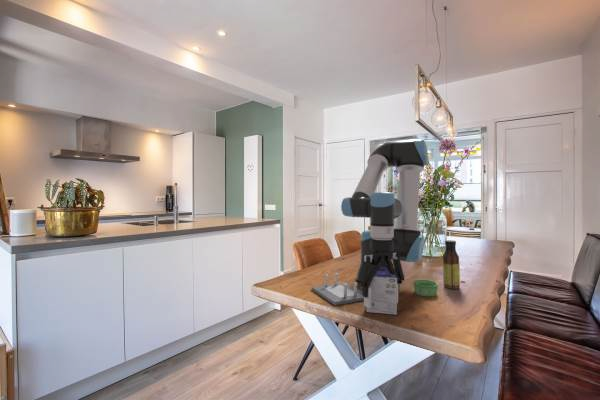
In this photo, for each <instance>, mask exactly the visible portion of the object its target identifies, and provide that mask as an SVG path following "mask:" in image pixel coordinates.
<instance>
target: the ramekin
mask: <svg viewBox="0 0 600 400" xmlns="http://www.w3.org/2000/svg"><path fill="white" fill-rule="evenodd" d="M412 281H413V288H414V293H415V294H416V295H419V296H421V295H422V296H423V297H428V298H429V297H430V298H431V296H432V297H435V296H437V293H438V287H439V283H438V282H436V281H434V280H430V279H425V278H423V279H422V278H419V279H415V280H412Z"/></svg>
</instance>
